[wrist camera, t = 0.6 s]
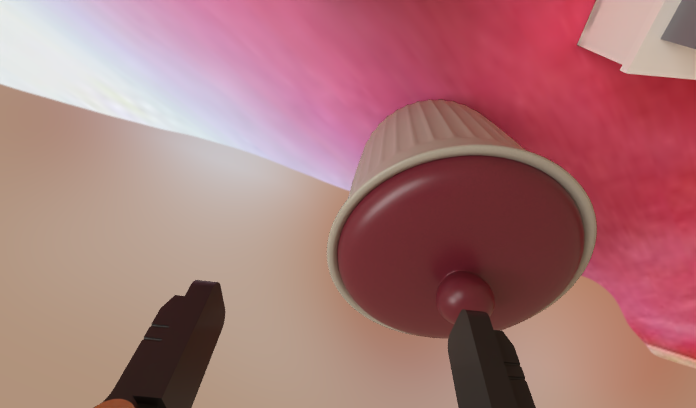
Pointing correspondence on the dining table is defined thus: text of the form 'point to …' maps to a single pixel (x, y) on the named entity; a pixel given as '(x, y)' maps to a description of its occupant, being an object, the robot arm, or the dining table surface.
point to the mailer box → (614, 27)
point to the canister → (456, 224)
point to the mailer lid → (665, 42)
